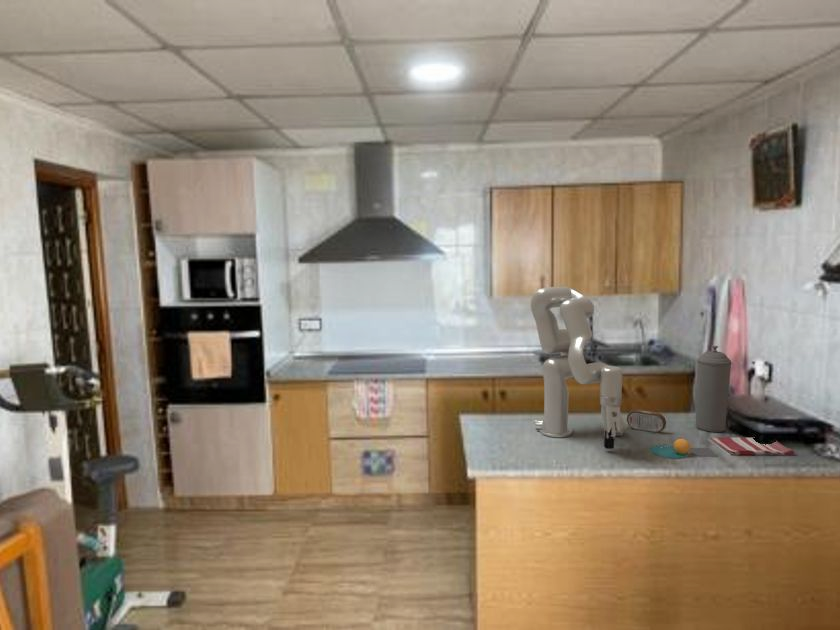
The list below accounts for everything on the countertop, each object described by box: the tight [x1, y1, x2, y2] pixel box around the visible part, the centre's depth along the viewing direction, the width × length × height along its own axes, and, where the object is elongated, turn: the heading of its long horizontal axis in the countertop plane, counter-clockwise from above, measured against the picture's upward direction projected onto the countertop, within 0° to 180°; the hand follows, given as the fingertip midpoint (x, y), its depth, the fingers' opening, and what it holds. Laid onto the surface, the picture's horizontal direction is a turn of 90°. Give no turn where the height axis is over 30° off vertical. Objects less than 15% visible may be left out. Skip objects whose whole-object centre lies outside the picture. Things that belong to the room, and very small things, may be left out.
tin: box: [626, 408, 667, 434], centre depth 229 cm, size 15×3×8 cm, turn 58°
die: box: [615, 416, 628, 437], centre depth 225 cm, size 8×9×10 cm
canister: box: [695, 345, 733, 433], centre depth 229 cm, size 13×13×35 cm
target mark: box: [649, 444, 689, 460], centre depth 206 cm, size 13×13×1 cm
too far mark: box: [689, 447, 719, 457], centre depth 205 cm, size 8×8×1 cm
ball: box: [673, 438, 692, 454], centre depth 203 cm, size 6×6×6 cm
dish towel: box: [708, 436, 795, 457], centre depth 209 cm, size 17×23×3 cm
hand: (609, 447), depth 207 cm, fingers closed
